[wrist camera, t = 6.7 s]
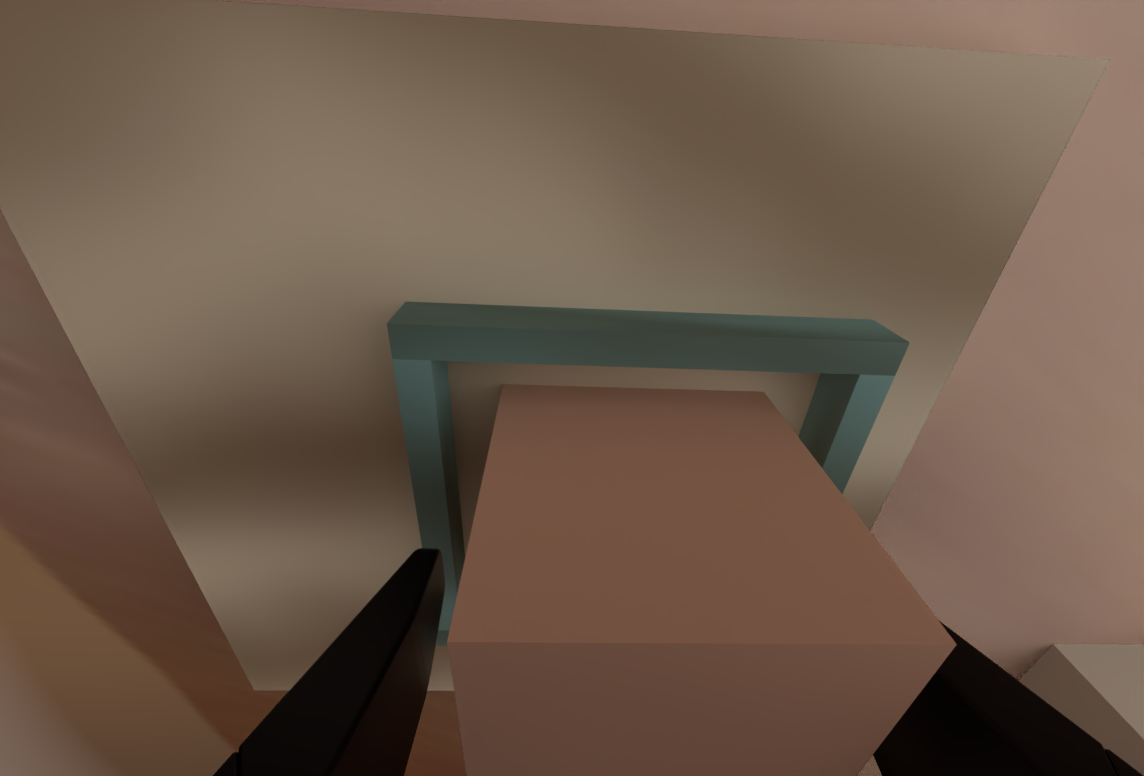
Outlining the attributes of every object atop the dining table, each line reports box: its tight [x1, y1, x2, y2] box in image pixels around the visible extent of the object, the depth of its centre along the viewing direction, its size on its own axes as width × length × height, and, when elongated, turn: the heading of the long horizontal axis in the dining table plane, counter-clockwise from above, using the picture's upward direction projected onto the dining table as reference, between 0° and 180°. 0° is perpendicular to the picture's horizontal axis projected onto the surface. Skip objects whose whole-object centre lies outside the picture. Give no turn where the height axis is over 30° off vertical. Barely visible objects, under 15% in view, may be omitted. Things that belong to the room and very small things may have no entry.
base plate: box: [0, 0, 1110, 691], centre depth 10 cm, size 16×16×2 cm
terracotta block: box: [447, 384, 957, 776], centre depth 8 cm, size 5×5×5 cm
